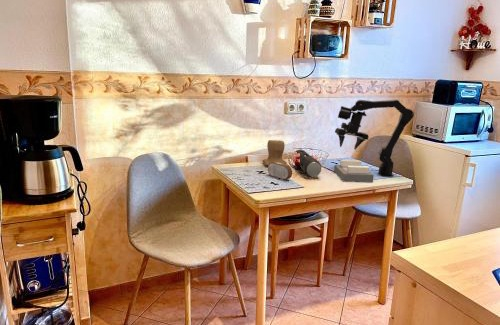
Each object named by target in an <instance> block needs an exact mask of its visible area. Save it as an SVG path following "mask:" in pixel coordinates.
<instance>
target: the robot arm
mask: <svg viewBox="0 0 500 325" xmlns="http://www.w3.org/2000/svg"><path fill="white" fill-rule="evenodd" d="M382 108H385V109H386V108H394V109H396V110H397V111H398V112H399V113H400V115H399V117H398V122H397V124H396V126H395V128H394V130H393V131H392V134H391V136H390V137H389V139H388V141H387V142H386V145H385V146H381V147H380V150H379V151H378V152H377V153H378V159H379V161H380V162H381V163H380V164H379V168H378V172H377V173H378V174H379V175H380V176H381V177H394V175H393V170H394V164H395V163H394V161H393V159H392V154H393V150H394V147H395V146H396V144H397V142H398V140H399V138H400V137H401V135H402V133H403V131H404V130H405V127H406V126H407V125H408V124H409V123H410V122H411V121H412V120H413V118H414V117H415V114H414V111H413V110H412V109H410V108H408V107H406V106H405V105H404V104H402V103H401V102H400V100H398V99H391V100H390V99H389V100H366V99H358V100H357V101H355V103H354V105H352V106H351V107H350V108H349V107H346V106H342V105H341V106H340V109H339V112H338V116H337V118H338V119H341V120H346V121H348V120H349V119H350V120H349V121H348V123H347V122H342V123H341V124H340V128H339V127H337V128H336V129H335V130H334V133H336V135H337V136H338V139H339V147H340V148H342V146H343V143H344V141H345V138H346V136H345V135H347V136H353V137H356V141H355V144H354V147H353V148H354V150H357V149H358V148H359V147H360V145H362V143H364V142H365V141H366V140H367V141H368V140H369V138H370V137H369V134H367V133H365V132H361V131H359V129H360V128H361V127H362V125H361V124H362V123H361V122H362V119H363V117H367V114H366V111H367V110H370V109H371V110H372V109H382Z"/></svg>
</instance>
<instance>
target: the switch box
mask: <svg viewBox="0 0 500 325" xmlns="http://www.w3.org/2000/svg"><path fill="white" fill-rule="evenodd" d="M333 167H334V168H333V173H335V175H337V176H338V177H339V178H340V180H342V181H343V182H354V183H374V177H375V176H374V174H373V173H372V172H370V171H369V173H348V172H347V167H342V166H340V164H334V166H333Z"/></svg>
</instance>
